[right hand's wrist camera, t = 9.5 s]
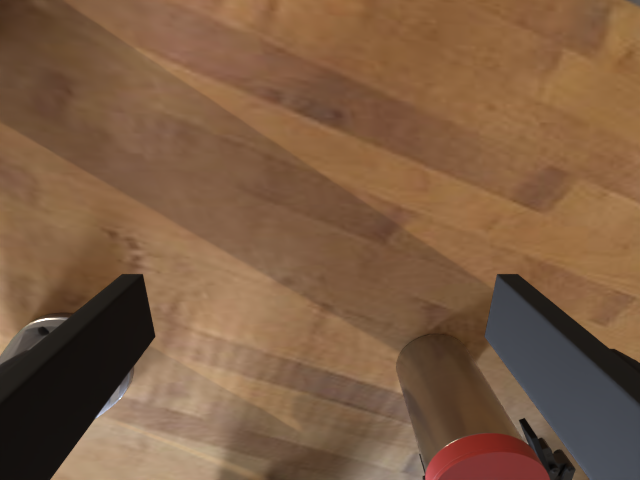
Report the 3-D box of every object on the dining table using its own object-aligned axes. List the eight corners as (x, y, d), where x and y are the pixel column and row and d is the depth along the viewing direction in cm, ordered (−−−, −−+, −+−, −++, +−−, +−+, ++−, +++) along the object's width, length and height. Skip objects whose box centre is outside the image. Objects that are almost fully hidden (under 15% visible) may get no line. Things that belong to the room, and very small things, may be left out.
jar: (382, 357, 46) (412, 480, 31) (447, 320, 44) (515, 432, 29) (419, 403, 49) (464, 537, 34) (482, 371, 47) (561, 497, 32)
